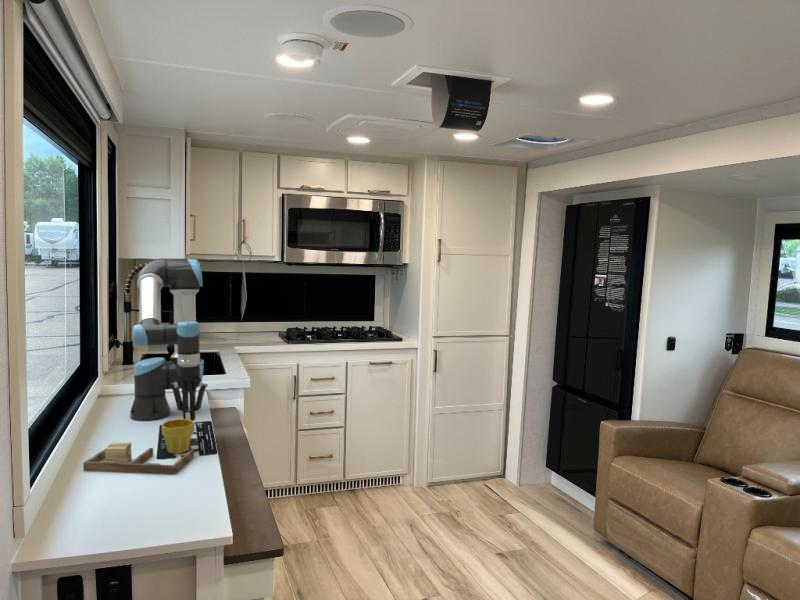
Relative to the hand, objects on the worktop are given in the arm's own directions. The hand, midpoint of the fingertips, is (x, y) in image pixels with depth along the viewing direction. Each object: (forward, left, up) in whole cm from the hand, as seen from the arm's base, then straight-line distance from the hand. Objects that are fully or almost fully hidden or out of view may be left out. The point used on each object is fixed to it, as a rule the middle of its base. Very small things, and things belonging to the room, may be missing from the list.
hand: (189, 429), depth 210 cm
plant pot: (+9, 0, -5) cm, 10 cm away
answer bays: (+22, -7, -5) cm, 24 cm away
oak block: (+22, -14, -5) cm, 27 cm away
